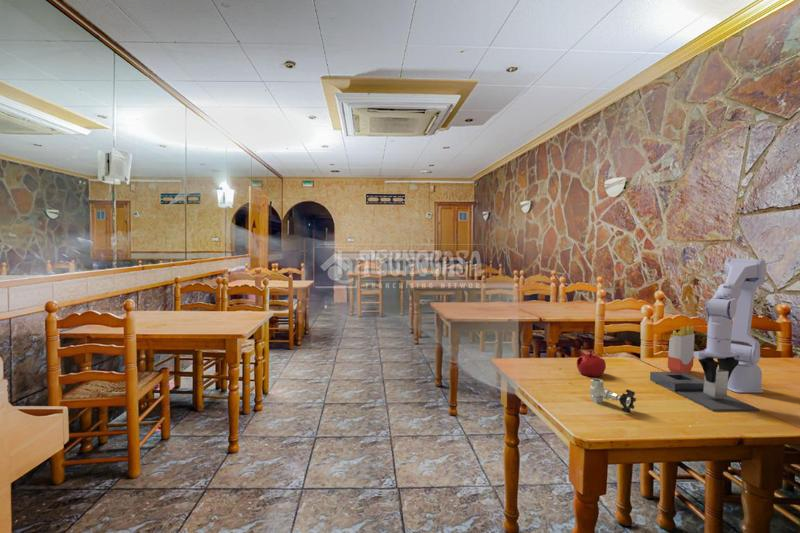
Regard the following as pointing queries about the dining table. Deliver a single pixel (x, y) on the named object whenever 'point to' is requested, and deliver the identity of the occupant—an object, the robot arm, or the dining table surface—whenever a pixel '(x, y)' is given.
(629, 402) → the valve
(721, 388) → the steel peg
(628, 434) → the dining table surface
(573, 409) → the dining table surface
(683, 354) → the french fries container
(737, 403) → the rubber mat
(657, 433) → the dining table surface
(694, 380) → the socket block
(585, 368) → the pomegranate
